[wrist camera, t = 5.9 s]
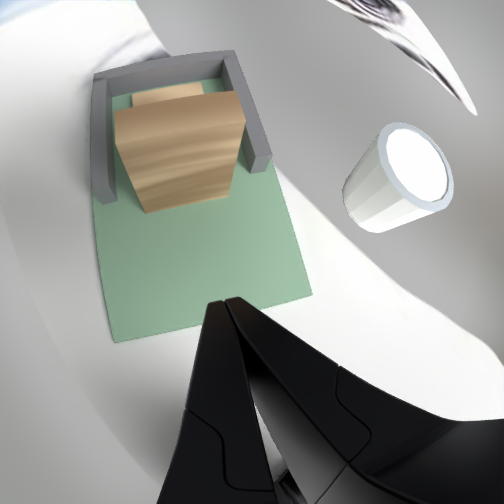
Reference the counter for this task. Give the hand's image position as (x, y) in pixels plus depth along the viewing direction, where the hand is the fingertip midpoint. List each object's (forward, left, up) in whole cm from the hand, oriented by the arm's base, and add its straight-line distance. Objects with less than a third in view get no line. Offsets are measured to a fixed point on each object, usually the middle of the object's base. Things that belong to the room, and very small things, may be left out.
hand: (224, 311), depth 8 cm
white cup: (-5, -15, -13) cm, 21 cm away
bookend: (+10, -9, -12) cm, 18 cm away
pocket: (+12, -10, -12) cm, 20 cm away
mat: (+8, -7, -13) cm, 17 cm away
